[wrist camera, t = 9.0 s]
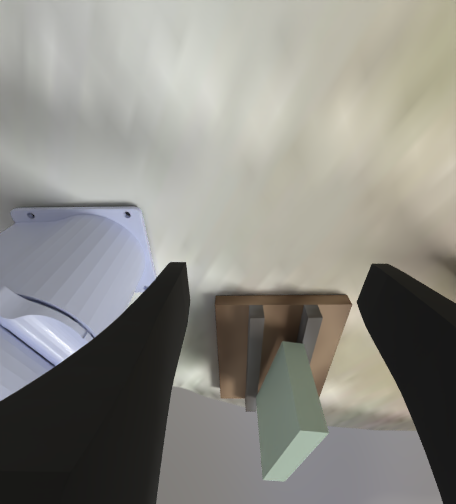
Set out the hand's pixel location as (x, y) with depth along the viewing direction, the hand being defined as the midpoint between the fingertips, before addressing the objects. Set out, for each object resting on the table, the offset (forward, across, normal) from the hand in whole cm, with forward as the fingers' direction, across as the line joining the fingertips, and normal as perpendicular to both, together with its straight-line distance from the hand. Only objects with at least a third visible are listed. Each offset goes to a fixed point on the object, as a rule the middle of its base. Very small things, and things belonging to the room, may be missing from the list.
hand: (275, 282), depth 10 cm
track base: (+9, -3, +18) cm, 20 cm away
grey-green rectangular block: (+7, -3, +18) cm, 19 cm away
